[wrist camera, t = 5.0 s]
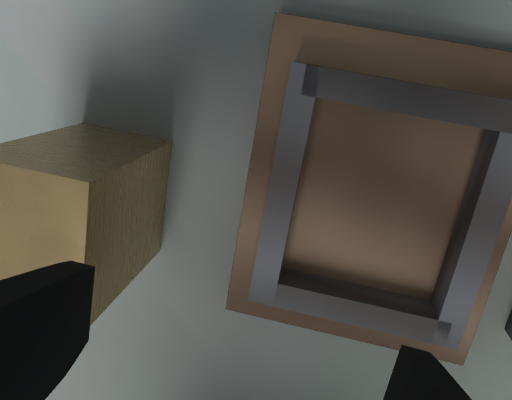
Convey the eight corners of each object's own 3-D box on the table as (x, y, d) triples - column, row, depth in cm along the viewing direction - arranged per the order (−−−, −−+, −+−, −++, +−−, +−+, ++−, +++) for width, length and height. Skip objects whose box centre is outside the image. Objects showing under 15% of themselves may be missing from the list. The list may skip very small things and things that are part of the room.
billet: (159, 250, 21) (79, 337, 14) (76, 231, 22) (-39, 306, 15) (172, 141, 20) (88, 182, 13) (82, 123, 20) (-43, 154, 13)
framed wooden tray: (457, 351, 20) (473, 389, 18) (230, 298, 21) (217, 327, 19) (558, 62, 16) (596, 62, 14) (278, 14, 17) (269, 7, 15)
